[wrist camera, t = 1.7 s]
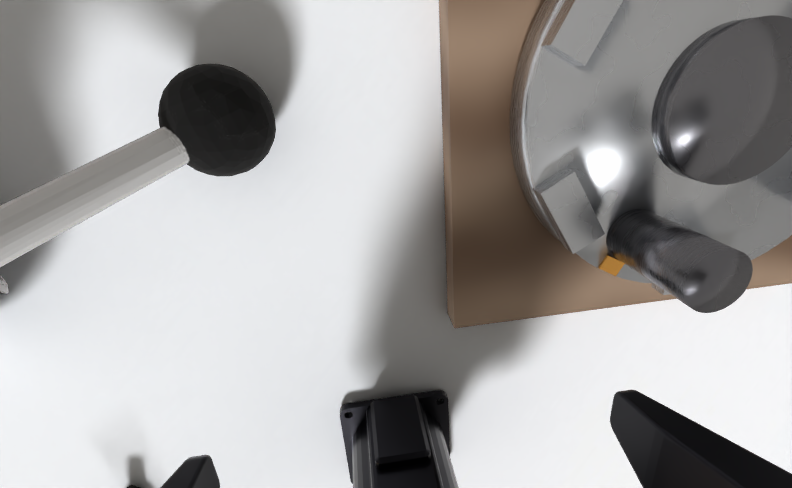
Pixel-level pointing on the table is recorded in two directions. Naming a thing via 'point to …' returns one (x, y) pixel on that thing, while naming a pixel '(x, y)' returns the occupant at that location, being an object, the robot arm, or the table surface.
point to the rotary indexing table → (659, 137)
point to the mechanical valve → (151, 156)
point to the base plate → (514, 188)
